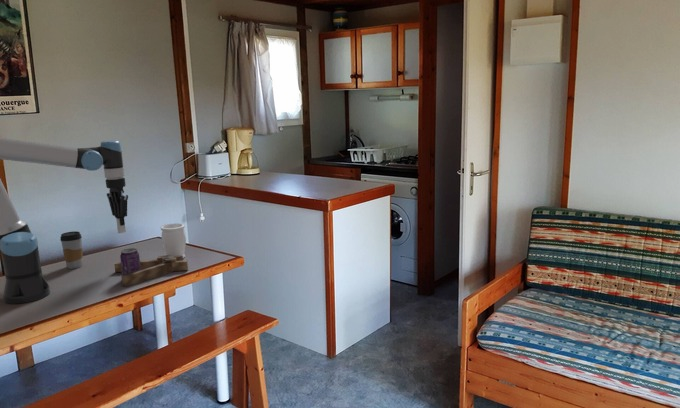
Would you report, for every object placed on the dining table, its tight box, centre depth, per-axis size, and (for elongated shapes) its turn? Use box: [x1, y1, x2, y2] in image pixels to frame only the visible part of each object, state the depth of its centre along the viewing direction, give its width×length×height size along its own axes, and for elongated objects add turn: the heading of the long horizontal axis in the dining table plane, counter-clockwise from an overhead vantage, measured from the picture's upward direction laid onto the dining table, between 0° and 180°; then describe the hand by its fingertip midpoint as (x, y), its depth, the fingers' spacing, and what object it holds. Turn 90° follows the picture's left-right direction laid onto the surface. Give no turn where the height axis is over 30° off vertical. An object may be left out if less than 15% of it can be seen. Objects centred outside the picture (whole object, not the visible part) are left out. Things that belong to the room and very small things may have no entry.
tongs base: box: [120, 255, 184, 288], centre depth 217 cm, size 30×6×4 cm, turn 143°
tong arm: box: [114, 254, 189, 273], centre depth 222 cm, size 30×6×5 cm, turn 98°
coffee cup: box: [59, 230, 84, 270], centre depth 230 cm, size 8×8×15 cm
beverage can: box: [119, 247, 141, 276], centre depth 212 cm, size 7×7×12 cm
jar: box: [160, 222, 187, 259], centre depth 238 cm, size 11×10×15 cm
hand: (121, 232), depth 225 cm, fingers closed
